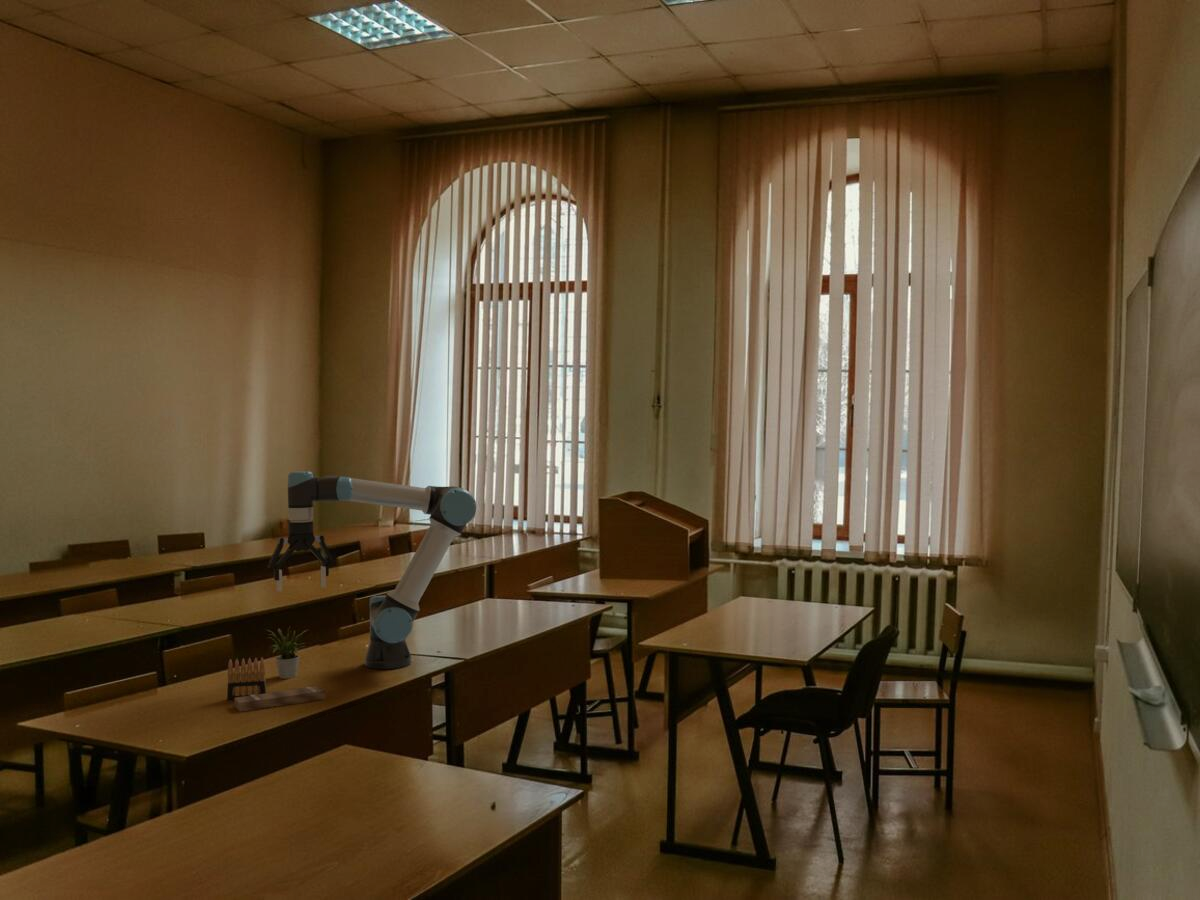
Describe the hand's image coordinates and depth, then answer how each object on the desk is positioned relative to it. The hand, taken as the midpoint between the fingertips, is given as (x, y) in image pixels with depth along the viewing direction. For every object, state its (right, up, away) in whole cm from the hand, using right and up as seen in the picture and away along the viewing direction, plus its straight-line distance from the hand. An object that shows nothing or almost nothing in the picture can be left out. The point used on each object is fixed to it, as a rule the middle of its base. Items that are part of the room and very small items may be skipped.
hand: (301, 589), depth 320 cm
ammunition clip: (-10, -30, -20) cm, 37 cm away
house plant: (-7, -29, +5) cm, 30 cm away
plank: (+1, -29, -25) cm, 39 cm away
